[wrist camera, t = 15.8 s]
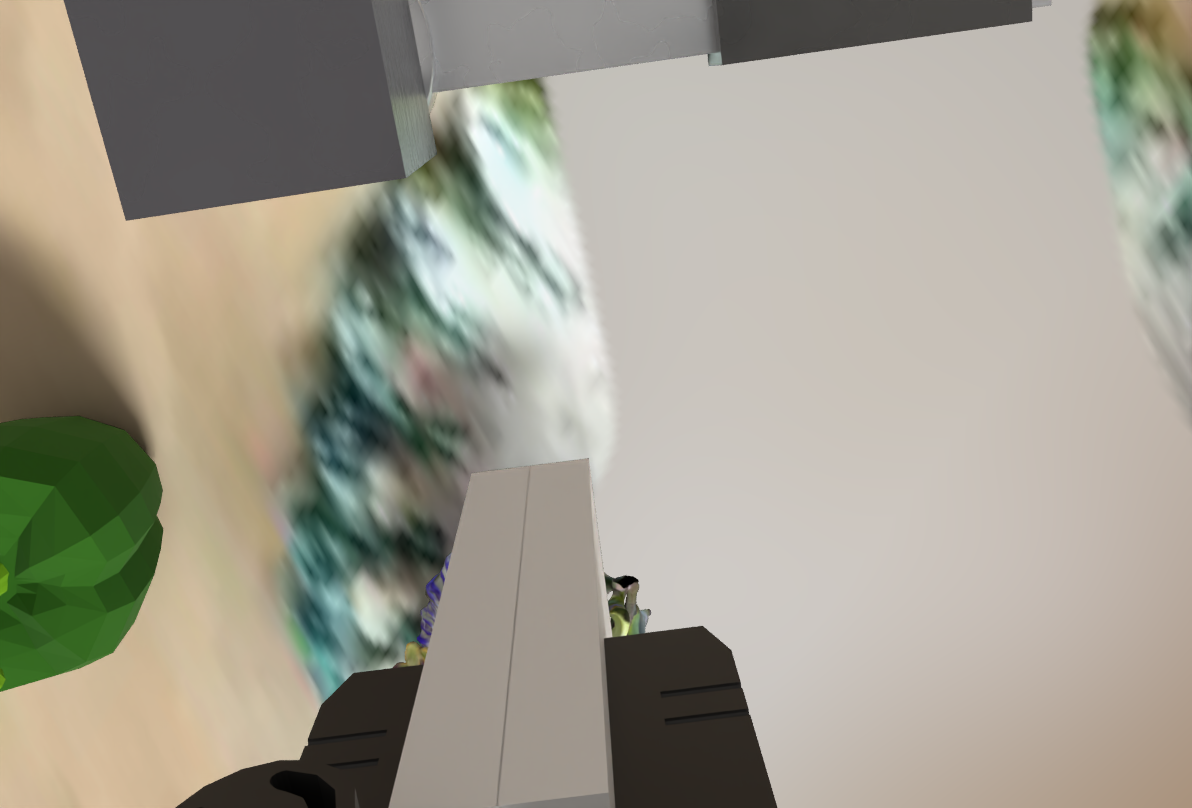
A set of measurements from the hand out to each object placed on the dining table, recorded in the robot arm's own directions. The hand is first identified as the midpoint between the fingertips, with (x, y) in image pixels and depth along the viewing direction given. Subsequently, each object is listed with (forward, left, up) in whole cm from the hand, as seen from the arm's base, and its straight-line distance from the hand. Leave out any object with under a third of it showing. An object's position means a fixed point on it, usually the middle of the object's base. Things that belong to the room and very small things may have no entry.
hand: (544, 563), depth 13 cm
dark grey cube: (+6, -7, -22) cm, 24 cm away
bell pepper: (+18, +7, -26) cm, 32 cm away
